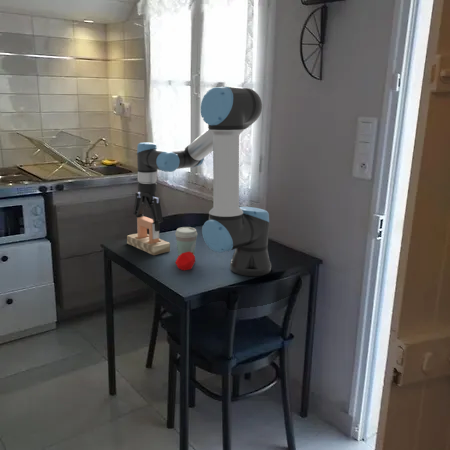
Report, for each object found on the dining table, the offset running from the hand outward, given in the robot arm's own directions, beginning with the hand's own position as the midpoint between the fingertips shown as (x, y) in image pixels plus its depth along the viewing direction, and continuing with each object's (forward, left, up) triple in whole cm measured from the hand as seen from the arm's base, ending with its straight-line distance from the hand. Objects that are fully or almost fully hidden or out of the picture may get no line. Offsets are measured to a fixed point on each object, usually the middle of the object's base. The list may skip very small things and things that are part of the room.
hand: (148, 235), depth 198 cm
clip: (0, 0, -3) cm, 3 cm away
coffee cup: (-21, -3, -5) cm, 22 cm away
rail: (0, 0, -5) cm, 5 cm away
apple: (-28, +3, -5) cm, 29 cm away
